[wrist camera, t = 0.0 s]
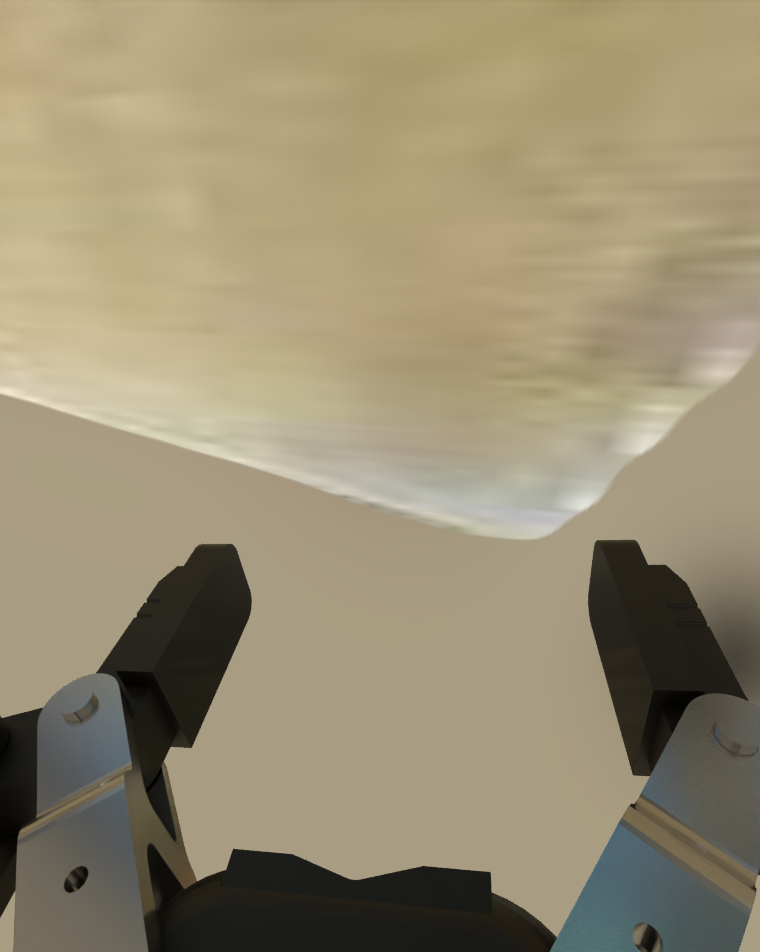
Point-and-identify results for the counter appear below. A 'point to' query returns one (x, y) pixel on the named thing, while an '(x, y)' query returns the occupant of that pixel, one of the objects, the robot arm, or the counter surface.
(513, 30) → the counter surface
